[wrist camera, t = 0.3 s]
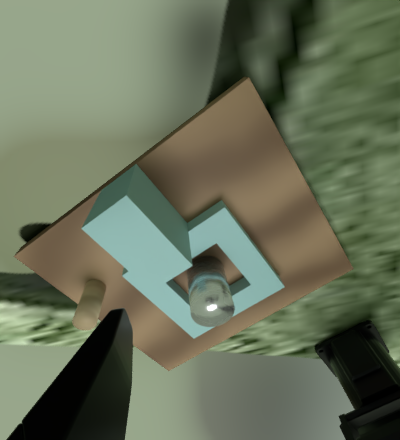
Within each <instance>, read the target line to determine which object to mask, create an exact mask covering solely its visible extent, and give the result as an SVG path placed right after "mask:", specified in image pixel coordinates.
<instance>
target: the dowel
mask: <svg viewBox="0 0 400 440" xmlns="http://www.w3.org/2000/svg"><path fill="white" fill-rule="evenodd" d="M105 291H106V285H105V284H104V283H103V282H102V281H100V280H90V281H88V282H87V283H86V285H85V288H84V290H83V293H82V296H81V298H80V301H79V304H78V307H77V309H76V312H75V315H74V317H73V320H72V322H73V325H74V326H75V327H76V328H78V329H80V330H91V329H93V328H94V327H95V326H96V324H97V321H98V317H99V313H100V310H101V306H102V302H103V299H104V295H105Z"/></svg>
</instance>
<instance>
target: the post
mask: <svg viewBox="0 0 400 440" xmlns="http://www.w3.org/2000/svg"><path fill="white" fill-rule="evenodd" d="M192 265H193V266H191V267H190V268H188V269H187V281H188V292H189V302H190V313H191V317H192V319H193V321H194V322H196V323H197V324H199V325H201V326H205V327H215V326H219V325H222V324H224V323H226V322H227V321H228V320H230V319H231V317H232V316H233V314H234V311H235V307H234V303H233V299H232V296H231V292H230V288H229V285H228V281H227V277H226V274H225V270H224V267H223V264H222V262H221V261H220V260H219V259H217V258H215V257H213V256H201V257H198V258H196V259H194V260H193V261H192Z"/></svg>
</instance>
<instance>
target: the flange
mask: <svg viewBox="0 0 400 440" xmlns="http://www.w3.org/2000/svg"><path fill="white" fill-rule="evenodd" d="M81 229H82V230H83V231H84V232H86V233H87V234H88V235H89V236H90V237H91V238H92V239H93V240H94V241H96V242H97V243H98V244H99V245H100V246H101V247H102V248H103V249H105V250H106V251H107V252H108V253H109V254H110V255H111V256H112V257H113V258H115V259H116V260H117V261H118V262H119V263H120V264H121V265H122V266H123V267H124V268H123V273H122V276H123V277H124V278H125V279H126V280H127V281H128V282H130V283H131V284H132V285H133V286H134V287H135V288H136V289H138V290H139V291H140V292H141V293H142V294H143V295H144V296H146V297H147V298H148V299H149V300H150V301H151V302H152V303H154V304H155V305H156V306H157V307H158V308H159V309H160V310H162V311H163V312H164V313H165V314H166V315H167V316H168V317H170V318H171V319H172V320H173V321H174V322H175V323H176V324H178V325H179V326H180V327H181V328H182V329H183V330H185V331H186V332H187V333H188V334H189V335H190V336H191V337H193V338H196V337H198V336H200V335H201V334H203V333H205V332H207V331H208V330H210V329H212V328H214V327H205V326H201V325H199V324H197V323H196V322H194V321H193V319H192V317H191V313H190V302H189V295H188V294H187V293H186V292H185V291H184V290H183V289H182V288H181V287H180V286H179V285H178V284H177V283H176V282H175V281H174V280H173V279H172V278H174V277H176V276H177V275H179V274H180V273H182V272H184V271H185V270H187V269H188V268H190V267H191V266H193V265H192V258H194V257H195V256H197V255H198V254H200V253H202V252H203V251H205V250H206V249H208V248H209V247H211V246H213V245H214V244H216V243H217V244H218V246H219V247H220V248H221V249H222V250H223V252H224V253H225V254H226V255H227V256H228V258H229V259H230V260H231V261H232V262H233V264H234V265H235V266H236V267H237V268H238V269H239V271H240V272H241V273H242V274H243V275H244V277H243V278H242V279H240V280H238V281H237V282H235V283H233V284H232V285H230V286H229V288H230V292H231V296H232V299H233V303H234V307H235V311H234V314H233V316H235V315H237V314H238V313H240V312H242V311H244V310H245V309H247V308H249V307H251V306H252V305H254V304H256V303H258V302H259V301H261V300H263V299H265V298H266V297H268V296H270V295H272V294H274V293H275V292H277V291H279V290H281V289H282V288H284V285H283V283H282V281H281V279H280V277H279V276H278V274H277V273H276V272H275V270H274V269H273V268H272V266H271V265H270V264H269V262H268V261H267V260H266V258H265V257H264V256H263V254H262V253H261V252H260V250H259V249H258V248H257V246H256V245H255V244H254V242H253V241H252V240H251V238H250V237H249V236H248V234H247V233H246V232H245V230H244V229H243V228H242V226H241V225H240V224H239V222H238V221H237V220H236V218H235V217H234V216H233V214H232V213H231V212H230V210H229V209H228V207H227V206H226V205H225V203H224V202H223V201H222V200H221V201H219V202H218V203H216V204H215V205H213V206H212V207H210V208H209V209H207V210H206V211H205V212H203V213H202V214H200V215H199V216H197V217H196V218H194V219H193V220H191V221H190V222H188V223H187V222H186V221H185V220H184V219H183V218H182V216H181V215H180V214H179V213H178V212H177V211H176V209H175V208H174V207H173V206H172V205H171V204H170V202H169V201H168V200H167V199H166V198H165V197H164V195H163V194H162V193H161V192H160V191H159V190H158V189H157V187H156V186H155V185H154V184H153V183H152V182H151V180H150V179H149V178H148V177H147V176H146V175H145V173H144V172H143V171H142V170H141V169H140V168H139V167H138V165H137V164H135V165H134V166H133V167H131V168H130V169H129V170H127V171H126V172H125V173H123V174H122V175H121V176H119V177H118V178H117V179H116V180H114V181H113V182H112V183H110V184H109V185H108V186H106V187H105V188H104V189H102V190H101V192H100V194H99V195H98V197H97V199H96V201H95V203H94V205H93V207H92V209H91V211H90V213H89V215H88V217H87V218H86V220H85V222H84V224H83V226H82V228H81ZM233 316H232V317H233Z"/></svg>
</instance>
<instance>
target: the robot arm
mask: <svg viewBox="0 0 400 440" xmlns="http://www.w3.org/2000/svg"><path fill="white" fill-rule="evenodd" d="M315 351H316V353H317V354H318V355H319V357H320V358H321V359H322V360H323V361H324V363H325V364H326V365H327V366H328V368H329V369H330V370H331V371H332V373H333V374H334V375H335V376H336V377H337V378H338V379H339V382H340V384H341V385H342V387H343V389H344V391H345V393H346V394H347V396H348V398H349V400H350V402H351V404H352V406H353V408H354V409H355V410H354V411H351V412H349V413H347V414H342V415H340V416H339V418H340V421H341V425H340V428H341V430H342V433H343V435H344V437H345V439H346V440H400V368H399V367H398V365H397V364H396V363H395V361H394V360H393V359H392V357H391V356H390V355H389V354H388V353H389V350H388V348H387V347H386V345H385V343H384V341H383V340H382V338H381V336H380V334H379V333H378V331H377V329H376V327H375V326H374V324H373V323H372V322H371V321H365V322H363V323H361V324H359V325H357V326H355V327H353V328H351V329H349V330H347V331H345V332H343V333H341V334H339V335H337V336H336V337H334V338H332V339H330V340H328V341H326V342H324V343H322V344H320V345H318V346H316V347H315ZM132 354H133V329H132V325H131V322H130V320H129V317H128V314H127V312H126V310H125V309H124V308H118V309H113V310H111V311H109V312H108V314H107V315H106V316H105V317H104V319H103V320H102V321H101V322H100V324H99V325H98V326H97V327H96V329H95V330H94V331H93V332H92V334H91V335H90V336H89V337H88V339H87V340H86V341H85V342H84V344H83V345H82V346H81V347H80V349H79V350H78V351H77V352H76V354H75V355H74V356H73V358H72V359H71V360H70V361H69V362H68V364H67V365H66V366H65V368H64V369H63V370H62V371H61V372H60V374H59V375H58V376H57V377H56V379H55V380H54V381H53V382H52V384H51V385H50V386H49V387H48V389H47V390H46V391H45V392H44V394H43V395H42V396H41V397H40V399H39V400H38V401H37V402H36V404H35V405H34V406H33V407H32V409H31V410H30V411H29V412H28V414H27V415H26V416H25V417H24V419H23V420H22V423H20V424H19V425H18V426H17V427H16V428H15V430H14V431H13V432H12V433H11V435H10V436H9V437H8V438H7V440H125V433H126V426H127V418H128V410H129V403H130V395H131V386H132Z"/></svg>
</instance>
